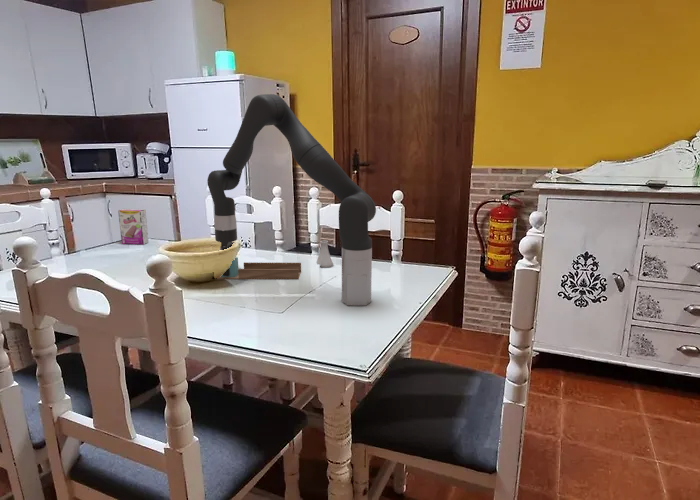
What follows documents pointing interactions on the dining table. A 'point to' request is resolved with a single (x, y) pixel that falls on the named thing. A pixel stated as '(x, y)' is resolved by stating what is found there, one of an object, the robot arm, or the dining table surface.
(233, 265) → the teal block
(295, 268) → the trap channel
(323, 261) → the flask
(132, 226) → the candy bar box
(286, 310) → the dining table surface
